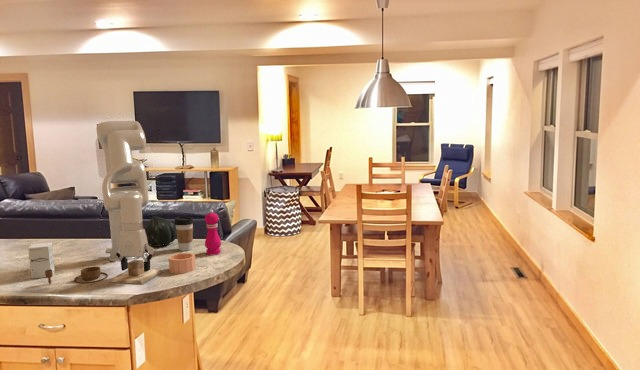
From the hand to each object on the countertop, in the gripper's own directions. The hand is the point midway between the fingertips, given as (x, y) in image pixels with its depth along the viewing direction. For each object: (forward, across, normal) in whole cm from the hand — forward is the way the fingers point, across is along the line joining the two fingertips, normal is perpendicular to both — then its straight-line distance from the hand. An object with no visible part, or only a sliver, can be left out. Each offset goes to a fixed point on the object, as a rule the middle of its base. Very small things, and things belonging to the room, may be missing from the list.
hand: (135, 270), depth 195 cm
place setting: (+4, -21, -4) cm, 22 cm away
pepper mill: (+4, +14, +38) cm, 41 cm away
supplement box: (+4, -40, -3) cm, 40 cm away
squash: (+3, -18, +48) cm, 52 cm away
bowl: (+4, +13, +12) cm, 18 cm away
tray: (+4, 0, 0) cm, 4 cm away
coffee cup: (+3, -2, +42) cm, 42 cm away
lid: (+3, 0, 0) cm, 3 cm away
